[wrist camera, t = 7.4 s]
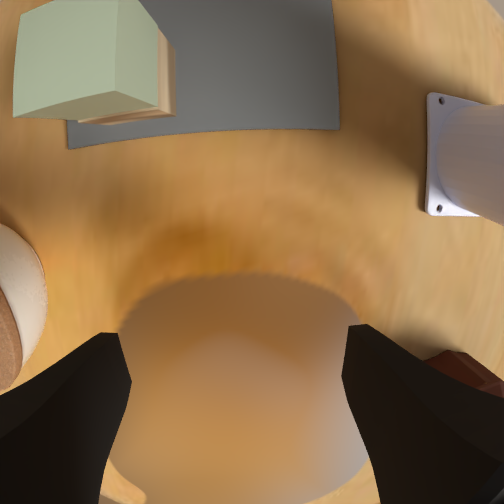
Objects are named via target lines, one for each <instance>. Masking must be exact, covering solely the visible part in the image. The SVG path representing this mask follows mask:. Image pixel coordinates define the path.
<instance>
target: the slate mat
mask: <svg viewBox="0 0 504 504" xmlns="http://www.w3.org/2000/svg"><path fill="white" fill-rule="evenodd" d="M138 1H139V2H140V3H141V4H142V6H143V7H144V8H145V10H146V11H147V12H148V13H149V15H150V16H151V17H152V19H153V20H154V21H155V22H156V24H157V25H158V28H159V30H160V31H161V32H162V33H163V35H164V36H165V37H166V39H167V40H168V41H169V43H170V44H171V45H172V46H173V48H174V49H175V77H176V116H175V117H166V118H157V119H149V120H142V121H135V122H128V123H121V124H115V125H101V124H87V123H78V120H67V132H68V150H69V149H75V148H81V147H86V146H92V145H98V144H104V143H110V142H117V141H124V140H131V139H138V138H146V137H155V136H164V135H174V134H185V133H197V132H211V131H228V130H253V129H323V130H340V116H339V89H338V71H337V55H336V42H335V31H334V20H333V10H332V1H331V0H138Z"/></svg>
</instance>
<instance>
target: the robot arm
mask: <svg viewBox="0 0 504 504" xmlns="http://www.w3.org/2000/svg"><path fill="white" fill-rule="evenodd" d="M439 98H440V99H441V101H442V104H440V103H439ZM427 127H428V151H427V181H426V198H425V211H426V213H427V214H429V215H431V216H478V217H484V218H486V219H489V220H491V221H493V222H496V223H498V224H500V225H502V226H504V105H485V104H481V103H478V102H474V101H470V100H466V99H462V98H458V97H454V96H450V95H445V94H441V93H436V92H432V93H429V94H428V95H427ZM438 205H439V207H440V208H439V210H438V211H437V209H436V208H437V206H438ZM341 376H342V381H343V385H344V389H345V393H346V397H347V401H348V404H349V407H350V409H351V412H352V414H353V416H354V419H355V422H356V424H357V427H358V429H359V432H360V434H361V437H362V439H363V442H364V444H365V446H366V450H367V452H368V455H369V458H370V461H371V464H372V467H373V471H374V475H375V479H376V483H377V488H378V492H379V497H380V502H381V504H504V398H502V397H499V396H496V395H493V394H490V393H487V392H484V391H481V390H479V389H476V388H474V387H471V386H469V385H467V384H464V383H462V382H460V381H458V380H456V379H454V378H452V377H450V376H448V375H446V374H444V373H442V372H440V371H438V370H437V369H435V368H433V367H432V366H430V365H428V364H427V363H425V362H423V361H422V360H420V359H418V358H417V357H415V356H414V355H412V354H411V353H409V352H408V351H406V350H405V349H403V348H402V347H400V346H399V345H397V344H396V343H395V342H393V341H392V340H390V339H389V338H387V337H386V336H385V335H383V334H382V333H380V332H379V331H377V330H376V329H374V328H373V327H371V326H369V325H368V324H362V325H353V326H349V328H348V336H347V342H346V349H345V357H344V363H343V369H342V375H341ZM131 383H132V381H131V378H130V374H129V372H128V368H127V365H126V362H125V358H124V355H123V351H122V348H121V344H120V340H119V337H118V333H103V332H101V333H99V334H97V335H95V336H94V337H92V338H91V339H89V340H88V341H86V342H85V343H83V344H82V345H80V346H79V347H78V348H76V349H75V350H73V351H72V352H71V353H69V354H68V355H66V356H65V357H63V358H62V359H61V360H59V361H58V362H56V363H55V364H53V365H52V366H50V367H49V368H47V369H46V370H44V371H43V372H41V373H40V374H38V375H37V376H35V377H33V378H32V379H30V380H29V381H27V382H25V383H23V384H22V385H20V386H18V387H16V388H14V389H12V390H10V391H8V392H6V393H4V394H2V395H0V504H98V501H99V495H100V489H101V484H102V479H103V474H104V469H105V466H106V462H107V459H108V456H109V453H110V450H111V448H112V445H113V442H114V439H115V437H116V434H117V431H118V428H119V426H120V423H121V420H122V417H123V415H124V412H125V409H126V406H127V401H128V397H129V393H130V388H131Z"/></svg>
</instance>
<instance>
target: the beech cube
mask: <svg viewBox="0 0 504 504" xmlns="http://www.w3.org/2000/svg"><path fill="white" fill-rule="evenodd" d="M157 90H158V107H153V108H145V109H138V110H131V111H125V112H119V113H113V114H108V115H102V116H97V117H92V118H87V119H82V120H78V123H87V124H101V125H115V124H121V123H128V122H135V121H142V120H149V119H157V118H166V117H175V116H176V77H175V49H174V48H173V46H172V45H171V44H170V43H169V41H168V40H167V39H166V37H165V36H164V35H163V33H162V32H161V31H160V30H159V28H158V42H157Z"/></svg>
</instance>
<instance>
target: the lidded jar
mask: <svg viewBox="0 0 504 504" xmlns="http://www.w3.org/2000/svg"><path fill="white" fill-rule="evenodd" d="M47 309H48V295H47V287H46V282H45V275H44V271H43V267H42V264H41V262H40V260H39V258H38V256H37V254H36V252H35V251H34V249H33V248H32V247H31V246H30V244H29V243H27V242H26V241H25V240H24V239H23V238H21V237H20V236H19V235H18V234H17V233H16V232H15V231H13V230H12V229H11V228H9V227H7V226H5V225H3V224H1V223H0V391H1V390H5V389H7V388H8V387H10V386H11V384H12V383H13V382H14V380H15V379H16V378H17V376H18V375H19V373H20V370H21V368H22V367H23V366H24V364H25V363H26V362H27V360H28V359H29V358H30V356H31V355H32V353H33V351H34V349H35V348H36V346H37V344H38V342H39V339H40V337H41V335H42V332H43V330H44V326H45V322H46V317H47Z"/></svg>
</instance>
